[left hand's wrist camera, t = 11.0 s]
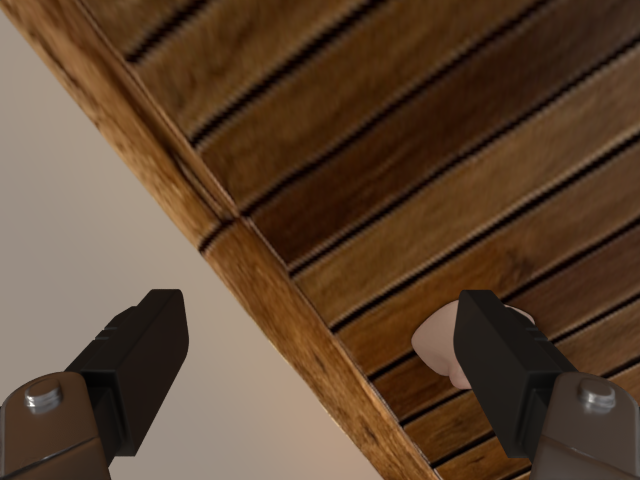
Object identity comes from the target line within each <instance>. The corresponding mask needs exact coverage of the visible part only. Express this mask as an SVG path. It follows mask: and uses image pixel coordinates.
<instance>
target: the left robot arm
mask: <svg viewBox="0 0 640 480" xmlns="http://www.w3.org/2000/svg"><path fill="white" fill-rule="evenodd" d="M188 346H189V335H188V327H187V320H186V313H185V306H184V299H183V294H182V292H181V290H179V289H152V290H151V291H150V292H149V293H148V294H147V295H146V296H145V297H144V298H143V300H142V301H141V302H140V303H139V304H138V305H137V306H132V307H130V308H128V309H127V310H125V311H123V312H122V313H120V314H118V315H116V316H115V317H114V318H113V319H112V320H111V321H110V322H109V323H108V325H107V326H106V327H105V328H104V330H102V331H101V332H100V333H99V334H98V335H97V336H96V337H95V340H93V341H92V342H91V343H90V344H89V345H88V346H87V347H86V348H85V349H84V350H83V351H82V352H81V353H80V354H79V356H78V357H77V358H76V359H75V360H74V361H73V362H72V363H71V364H70V365H69V366H68V367H67V368H66V369H65V371H64V372H56V373H51V374H47V375H44V376H41V377H38V378H36V379H34V380H32V381H29V382H27V383H26V384H24V385H22V386H21V387H19V388H18V389H16V390H15V391H14V392H13V393H11V394H10V395H9V396H8V397H7V398H6V400H5V401H4V402H3V404H2V406H1V407H0V480H111V477H110V473H109V469H108V467H109V466H110V464H111V462H112V460H113V459H114V457H115V456H135V455H136V453H137V451H138V449H139V447H140V445H141V444H142V442H143V440H144V438H145V436H146V434H147V432H148V430H149V428H150V426H151V424H152V422H153V420H154V418H155V416H156V414H157V413H158V411H159V409H160V407H161V405H162V403H163V401H164V399H165V397H166V395H167V393H168V391H169V389H170V387H171V385H172V383H173V381H174V380H175V378H176V376H177V374H178V372H179V370H180V368H181V366H182V364H183V362H184V360H185V358H186V355H187V352H188ZM453 347H454V353H455V356H456V359H457V361H458V363H459V365H460V367H461V368H462V370H463V372H464V374H465V376H466V378H467V380H468V382H469V384H470V386H471V388H472V390H473V391H474V393H475V395H476V397H477V399H478V401H479V403H480V405H481V407H482V409H483V411H484V413H485V414H486V416H487V418H488V420H489V422H490V424H491V426H492V428H493V430H494V432H495V434H496V436H497V437H498V439H499V441H500V443H501V445H502V447H503V449H504V451H505V453H506V455H507V457H508V458H529V460H530V461H531V463H532V469H531V473H530V477H529V480H640V407H639V406H638V404H637V402H636V401H635V400H634V398H633V397H632V396H631V395H630V394H629V393H627V392H626V391H625V390H624V389H622V388H621V387H619V386H618V385H616V384H614V383H613V382H611V381H609V380H606V379H604V378H602V377H599V376H596V375H593V374H589V373H584V372H579V371H578V370H577V369H576V368H575V367H574V366H573V365H572V364H571V363H570V362H569V361H568V360H567V358H566V357H565V356H564V355H563V354H562V353H561V352H560V351H559V350H558V349H557V348H556V347H555V346H554V345H553V344H552V343H551V342H550V341H548V338H547V337H546V336H545V335H544V334H543V333H542V332H541V331H538V328H537V327H536V326H535V325H534V324H533V322H532V321H531V320H530V319H529V318H528V317H527V316H525V315H523V314H521V313H520V312H518V311H516V310H515V309H513V308H511V307H506V306H505V305H504V304H503V303H502V302H501V301H500V300H499V299H498V297H497V296H496V295H495V294H494V293H493V292H492V291H491V290H462V291H461V293H460V295H459V300H458V307H457V314H456V321H455V328H454V335H453Z"/></svg>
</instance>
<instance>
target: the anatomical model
mask: <svg viewBox="0 0 640 480" xmlns="http://www.w3.org/2000/svg"><path fill="white" fill-rule="evenodd" d="M505 306H506V307H510V306H507V305H505ZM457 307H458V300H456V301H453V302H451V303H449V304H447V305H445V306H444V307H442V308H440V309H439V310H438V311H436V312H435V313H434V314H432V315H431V316H430V317H429V318H428V319H427V320H426V321H425V322H424V323H423V324H422V325H421V326H420V327H419V328H418V329H417V330H416V332H415V333H414V335H413V337H412V346H413V348H414V350H415V351H416V353H417V354H418V355H419V356H420V358H421V359H422V360H423V361H424V362H425V363H426V364H427V365H428V366H429V367H430V368H431V369H433V370H434V371H435V372H437V373H438V374H441V375H444V376H449V377H450V380H451V382H452V384H453V385H454V386H455V387H457V388H459V389H472V388H471V386H470V384H469V382H468V380H467V378H466V376H465V374H464V372H463V370H462V368H461V367H460V365H459V363H458V361H457V359H456V356H455V353H454V347H453V335H454V328H455V321H456V314H457ZM511 308H513V307H511ZM513 309H515V310H516V311H518V312H520V313H521V314H523V315H525V316H527V317H528V318H529V319H530V320H531V321H532V322H533V324H534V325H535V323H534V320H533V318H532V317H531V316H530V315H529V314H527V313H525V312H523V311H521V310H519V309H516V308H513Z"/></svg>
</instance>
